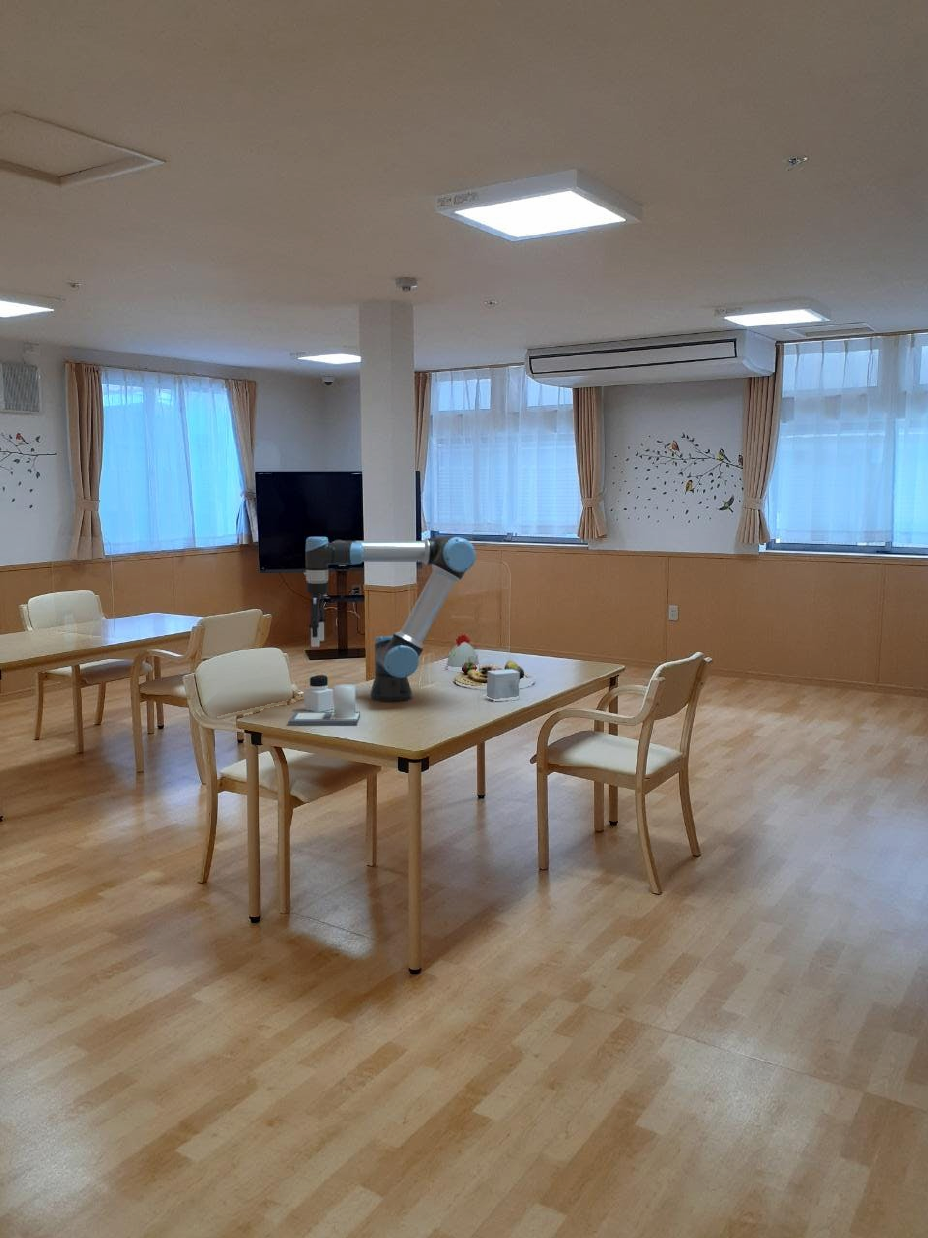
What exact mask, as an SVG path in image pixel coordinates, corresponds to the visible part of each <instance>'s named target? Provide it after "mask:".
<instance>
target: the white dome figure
mask: <svg viewBox="0 0 928 1238" xmlns="http://www.w3.org/2000/svg"><path fill="white" fill-rule="evenodd" d="M455 640H456V641H455V642H456V645H455V646H454V647H452V650H451V651H449V653H448V655H447V658H448V659H447V663H446V666H447V665H448V666H451V667H462V666H463V665H464V664H465V662H467V661H471V662H473V663H474V664H475V665H478V664H479V665H480V661H479V655H478V654H477V651H475V649H474V647H473V646H472V645H471V644H470V642H471V641H470V640H471V639H470V638H469V637H468V636H466V634H461V635H457V638H456V639H455Z"/></svg>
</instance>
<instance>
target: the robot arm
mask: <svg viewBox="0 0 928 1238" xmlns="http://www.w3.org/2000/svg"><path fill="white" fill-rule="evenodd" d="M476 557H477V555H476V550H475V547H474V545H473V543H471V541H469V540H468V539H466V538H463V537H462V536H460V537H459V536H454V535H453V536H452V535H451V536H450V535H448V536H442V537H430V538H429V537H428V538H424V539H423V540H342V539H336V540H334V541H332V542H329V538H328V537H327V536H308V537H307V538H306V540H305V572H304V573H303V574H304V576H305V580H306V583H305V592H306V594H307V595H312V597H311V599H310V604H311V606H310V621H309V622H310V624H308V628H310V646H311V647H312V648H313V647H315V648H317V647H318V648H319V647H320V642H322V641H323V642H324V641H325V623H326V622H327V618H325V608H324V607H325V606H324V602H325V601H324V595H327V594H328V593H329V583H328V581H329V565H361V564H362V563H365V562H366V563H367V562H368V563H372V562H373V563H375V562H376V563H381V562H384V563H387V562H389V563H393V562H394V563H423V564H424V565H425V566H427V565H428V566H429V565H430V566H431V568H432V573H431V575H430V576H429V579H428V580H427V582H426V584H425V585H424V587H423V590H422V591H421V593H420V595H419V596H418V598H417V601H416V602H415V604H414V606H413V607H412V609H411V611H410V613H409V616H408V617H407V619H406V620H405V623H404V624H403V626H402V628H401V630H400V631H397V632H394V634H393V635H382V636H380V635H379V636H376V637H375V638H374V639H375V640H374V644H373V645H374V680H373V684H372V686H371V689H370V699H371V700H373V701H378V702H389V703H390V702H402V701H407V700H412V697H413V691H412V689H411V685H410V681H409V680H408V677H410V676H412V675H413V674H414V673H415V672H416V670H417V669H418V667H419V663H420V662H419V661H420V660H419V658H420V656H421V654H422V653H423V651H424V644H423V642H424V640H425V639H426V636H427V634H428V632H429V630H430V629H431V627H432V625H433V623H434V621H435V620H436V617H437V616H438V614H439V612H440V611H441V609H442V606H443V605H444V603H445V601H446V599H447V597H448V596H449V594H450V592H451V591H452V588H453V586H454V585H455V584H456V583H458V582H461V580H462V579H463V577H464V575H465V573H466V572H467V571H469V570H470V569H471V568H473V566H474V564H475V562H476V559H477V558H476Z"/></svg>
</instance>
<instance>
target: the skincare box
mask: <svg viewBox="0 0 928 1238" xmlns="http://www.w3.org/2000/svg"><path fill="white" fill-rule="evenodd" d="M519 683H520V672H518V671H515V670H513V669H509V670H504V669H503V670H495V671H488V676H487V690H486V697H487V696H488V697H490V698H492V699H500V698H509V697H517V696H519V697H520V689H519Z"/></svg>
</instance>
